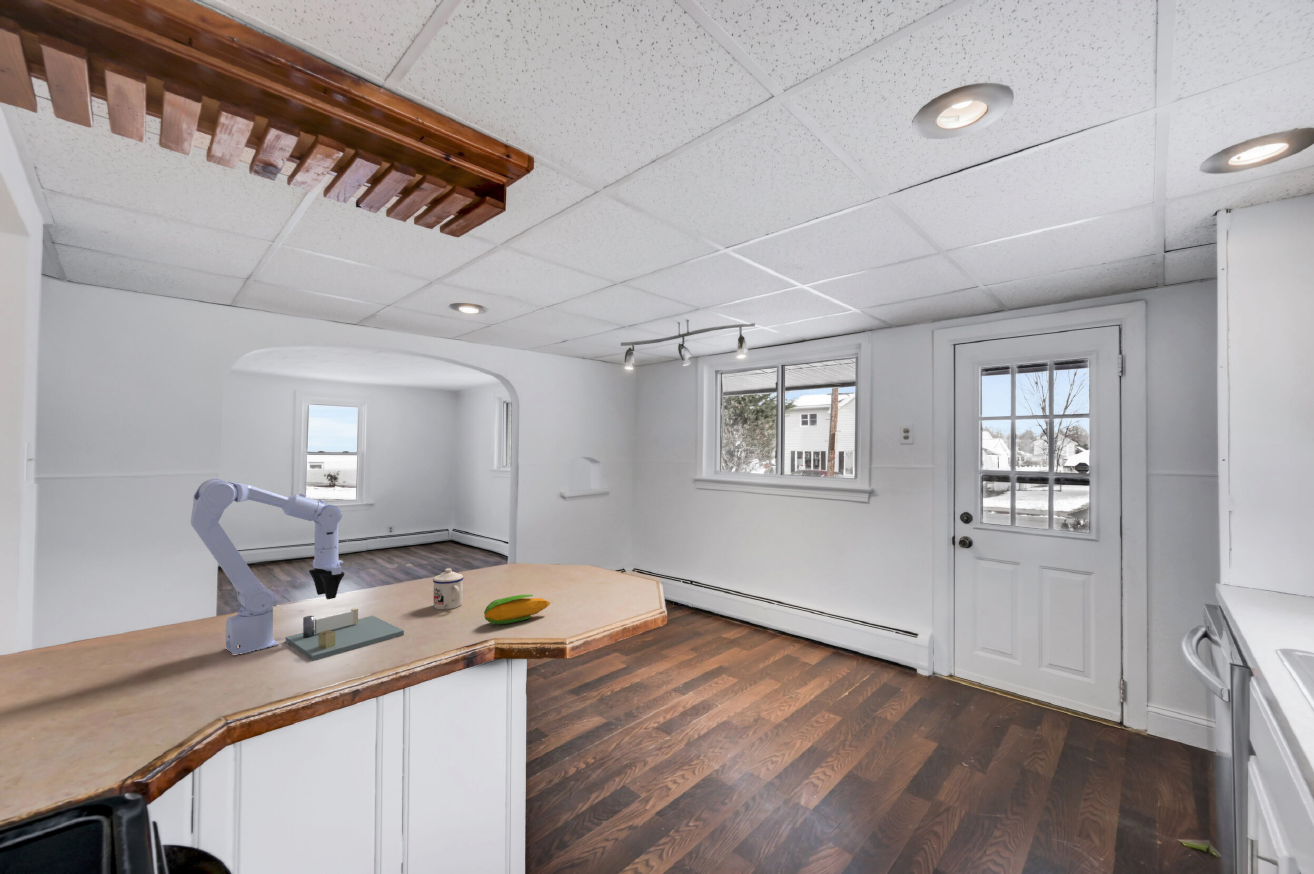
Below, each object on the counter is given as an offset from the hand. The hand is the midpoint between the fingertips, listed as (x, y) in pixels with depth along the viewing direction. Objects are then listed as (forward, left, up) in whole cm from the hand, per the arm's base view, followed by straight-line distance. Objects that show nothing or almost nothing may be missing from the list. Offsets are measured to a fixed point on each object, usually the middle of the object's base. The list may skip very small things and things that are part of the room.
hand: (326, 596), depth 150 cm
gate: (+1, -5, -8) cm, 9 cm away
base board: (+1, -10, -9) cm, 14 cm away
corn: (+39, -33, -10) cm, 53 cm away
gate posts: (-6, -11, -8) cm, 15 cm away
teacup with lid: (+33, -7, -10) cm, 35 cm away
